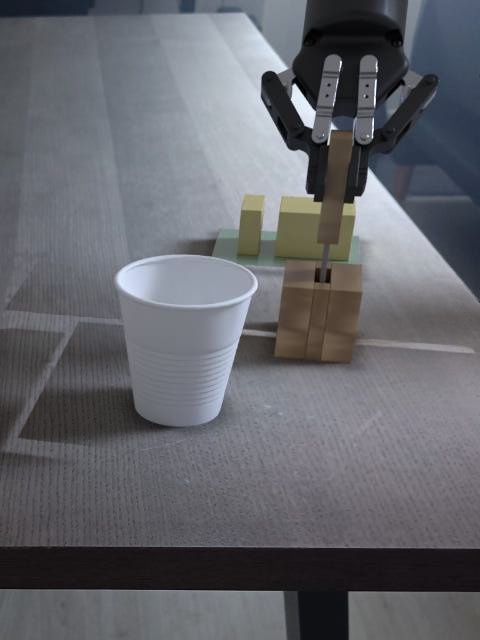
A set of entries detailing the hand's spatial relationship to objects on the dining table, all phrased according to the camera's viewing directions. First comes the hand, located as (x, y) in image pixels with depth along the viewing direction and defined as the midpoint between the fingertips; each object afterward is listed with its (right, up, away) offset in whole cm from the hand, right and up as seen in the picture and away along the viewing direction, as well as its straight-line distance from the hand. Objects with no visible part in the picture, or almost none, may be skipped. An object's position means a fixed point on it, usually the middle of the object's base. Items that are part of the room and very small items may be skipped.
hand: (334, 197), depth 77 cm
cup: (-12, -16, +1) cm, 20 cm away
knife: (+1, -10, +9) cm, 13 cm away
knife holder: (+1, -11, +9) cm, 14 cm away
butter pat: (0, +2, +27) cm, 27 cm away
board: (+4, +1, +27) cm, 27 cm away
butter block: (+6, +2, +25) cm, 26 cm away
